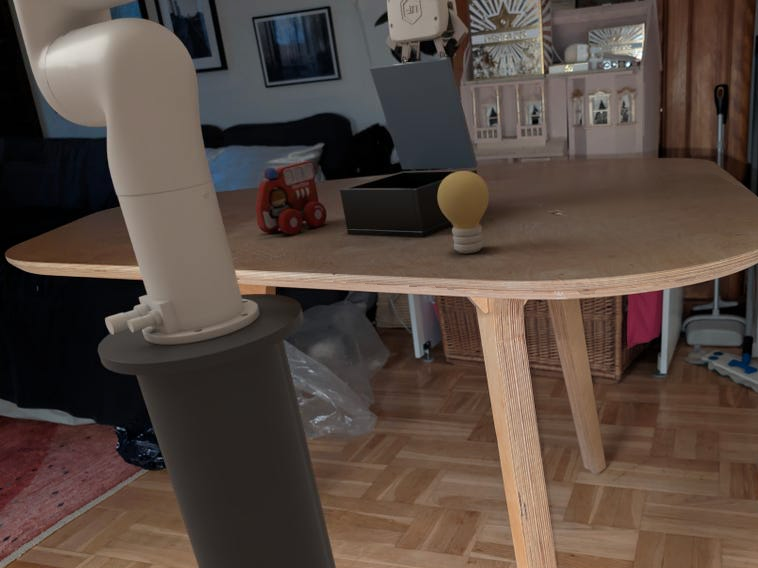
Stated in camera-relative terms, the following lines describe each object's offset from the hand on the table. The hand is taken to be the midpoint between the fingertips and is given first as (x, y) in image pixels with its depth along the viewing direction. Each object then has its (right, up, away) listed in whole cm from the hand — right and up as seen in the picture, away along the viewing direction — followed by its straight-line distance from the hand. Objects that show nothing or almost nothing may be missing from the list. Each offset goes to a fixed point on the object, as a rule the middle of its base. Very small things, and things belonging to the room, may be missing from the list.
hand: (431, 87), depth 109 cm
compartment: (-3, -21, +1) cm, 21 cm away
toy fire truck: (-23, -21, +7) cm, 32 cm away
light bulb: (+6, -29, -19) cm, 35 cm away
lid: (-1, -5, -1) cm, 5 cm away
